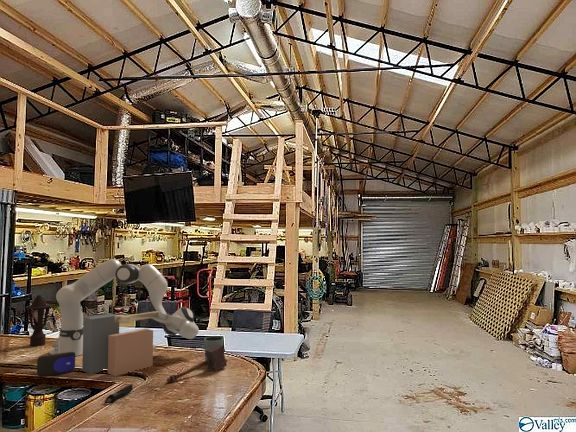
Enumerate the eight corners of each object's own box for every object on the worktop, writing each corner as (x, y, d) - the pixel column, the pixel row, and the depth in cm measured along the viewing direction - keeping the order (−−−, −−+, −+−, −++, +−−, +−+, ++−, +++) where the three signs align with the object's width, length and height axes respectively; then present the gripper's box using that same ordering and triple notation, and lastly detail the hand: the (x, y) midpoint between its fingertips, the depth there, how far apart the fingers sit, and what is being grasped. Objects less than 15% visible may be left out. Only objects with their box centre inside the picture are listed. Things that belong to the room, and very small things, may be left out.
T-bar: (114, 321, 211) (114, 315, 211) (155, 315, 229) (155, 309, 229) (122, 323, 207) (122, 317, 207) (163, 316, 224) (163, 310, 225)
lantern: (30, 342, 269) (32, 293, 271) (55, 341, 271) (56, 293, 272) (18, 348, 255) (20, 297, 256) (45, 347, 256) (46, 296, 258)
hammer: (228, 364, 216) (225, 345, 215) (173, 396, 192) (170, 374, 191) (219, 362, 221) (216, 343, 220) (164, 392, 196) (161, 371, 195)
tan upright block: (107, 373, 208) (108, 335, 209) (145, 363, 223) (145, 328, 224) (115, 376, 203) (115, 337, 204) (152, 366, 219) (153, 330, 219)
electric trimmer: (135, 391, 184) (135, 384, 184) (112, 405, 169) (112, 396, 169) (127, 391, 185) (127, 383, 185) (103, 404, 170) (103, 396, 170)
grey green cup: (213, 357, 235) (213, 335, 236) (227, 360, 229) (227, 337, 230) (199, 361, 227) (200, 338, 227) (213, 365, 221) (213, 341, 221)
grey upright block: (82, 370, 212) (83, 317, 213) (109, 364, 223) (110, 313, 224) (90, 374, 206) (92, 319, 207) (118, 367, 217) (119, 315, 218)
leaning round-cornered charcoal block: (37, 378, 200) (37, 358, 200) (36, 376, 204) (37, 355, 204) (76, 372, 209) (76, 352, 209) (74, 370, 213) (75, 350, 213)
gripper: (165, 315, 241) (146, 305, 233) (188, 319, 228) (169, 309, 220) (160, 326, 239) (141, 316, 230) (183, 331, 226) (163, 321, 217)
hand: (155, 313), depth 225 cm, fingers closed on T-bar, 3 cm apart
